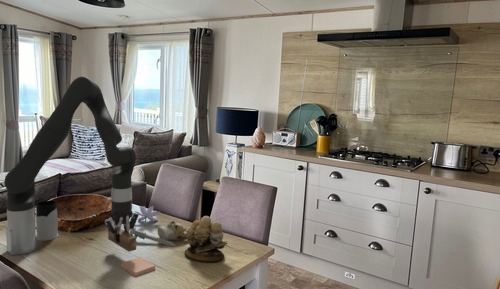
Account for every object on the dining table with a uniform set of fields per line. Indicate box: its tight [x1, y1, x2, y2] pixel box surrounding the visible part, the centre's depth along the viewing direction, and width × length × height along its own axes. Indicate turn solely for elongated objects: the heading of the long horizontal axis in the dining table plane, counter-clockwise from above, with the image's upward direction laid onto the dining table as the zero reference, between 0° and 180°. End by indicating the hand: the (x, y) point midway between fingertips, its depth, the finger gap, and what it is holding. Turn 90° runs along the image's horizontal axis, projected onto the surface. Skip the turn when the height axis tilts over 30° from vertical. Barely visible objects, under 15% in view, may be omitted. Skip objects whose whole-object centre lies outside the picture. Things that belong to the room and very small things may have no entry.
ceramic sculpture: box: [156, 221, 187, 241], centre depth 164 cm, size 11×9×15 cm
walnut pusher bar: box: [107, 225, 137, 252], centre depth 145 cm, size 3×16×5 cm, turn 48°
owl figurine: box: [183, 215, 228, 264], centre depth 149 cm, size 18×12×17 cm, turn 72°
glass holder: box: [35, 200, 60, 242], centre depth 160 cm, size 9×14×15 cm, turn 89°
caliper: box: [129, 227, 176, 247], centre depth 160 cm, size 21×1×6 cm, turn 80°
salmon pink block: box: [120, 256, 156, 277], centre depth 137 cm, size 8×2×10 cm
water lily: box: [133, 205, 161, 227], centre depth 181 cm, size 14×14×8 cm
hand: (121, 240), depth 145 cm, fingers closed on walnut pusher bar, 3 cm apart
